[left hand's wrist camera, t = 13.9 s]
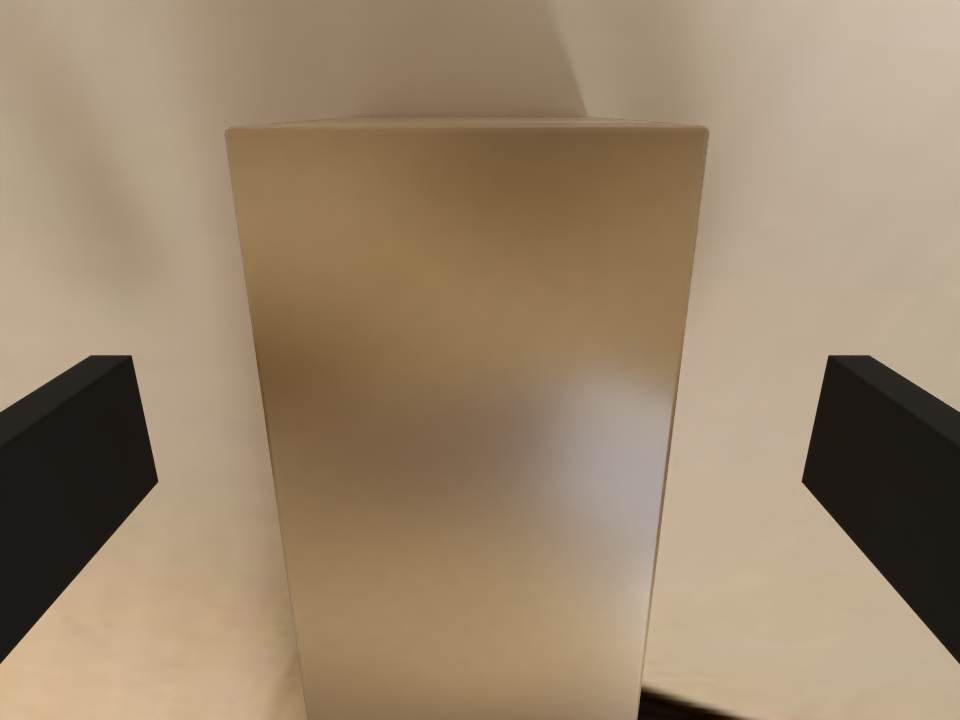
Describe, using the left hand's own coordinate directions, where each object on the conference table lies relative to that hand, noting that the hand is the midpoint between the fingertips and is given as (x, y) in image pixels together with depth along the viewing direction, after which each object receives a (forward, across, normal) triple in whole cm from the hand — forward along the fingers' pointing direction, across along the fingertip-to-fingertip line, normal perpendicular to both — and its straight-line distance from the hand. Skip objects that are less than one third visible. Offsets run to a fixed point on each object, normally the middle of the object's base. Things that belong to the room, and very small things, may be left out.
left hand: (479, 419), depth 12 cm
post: (+5, 0, -28) cm, 29 cm away
